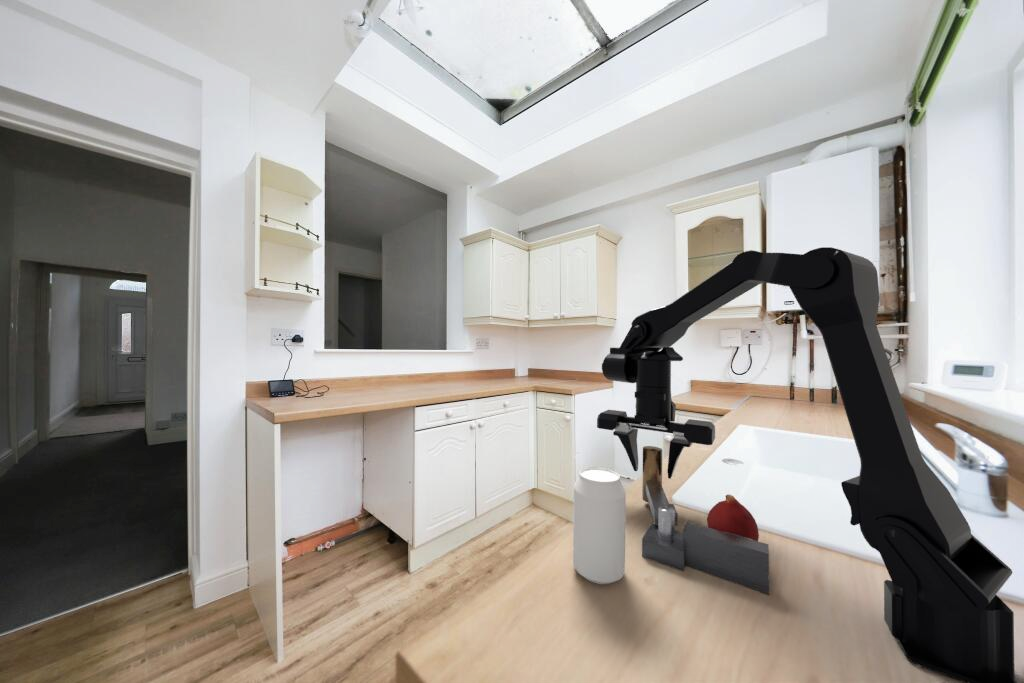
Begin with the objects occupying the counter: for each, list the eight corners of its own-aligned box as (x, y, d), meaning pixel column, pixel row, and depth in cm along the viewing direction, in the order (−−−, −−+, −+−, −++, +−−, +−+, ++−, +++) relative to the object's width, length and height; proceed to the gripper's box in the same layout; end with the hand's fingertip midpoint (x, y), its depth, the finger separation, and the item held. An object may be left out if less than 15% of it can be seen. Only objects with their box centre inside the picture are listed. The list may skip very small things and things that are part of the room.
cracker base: (767, 577, 41) (768, 527, 42) (769, 602, 37) (769, 546, 38) (651, 539, 49) (651, 498, 49) (642, 556, 45) (642, 511, 45)
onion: (742, 544, 49) (742, 487, 49) (769, 570, 43) (769, 506, 43) (700, 541, 49) (700, 485, 49) (720, 566, 43) (720, 503, 44)
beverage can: (575, 553, 46) (576, 463, 46) (623, 561, 44) (624, 468, 44) (570, 583, 40) (571, 480, 40) (626, 594, 38) (627, 486, 38)
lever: (677, 540, 47) (678, 475, 48) (651, 536, 48) (652, 472, 49) (661, 497, 61) (662, 447, 62) (641, 494, 62) (642, 445, 62)
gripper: (718, 386, 62) (717, 473, 61) (616, 379, 73) (615, 453, 72) (711, 392, 53) (711, 493, 52) (596, 383, 64) (595, 467, 63)
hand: (652, 474), depth 60 cm, fingers open, 5 cm apart
